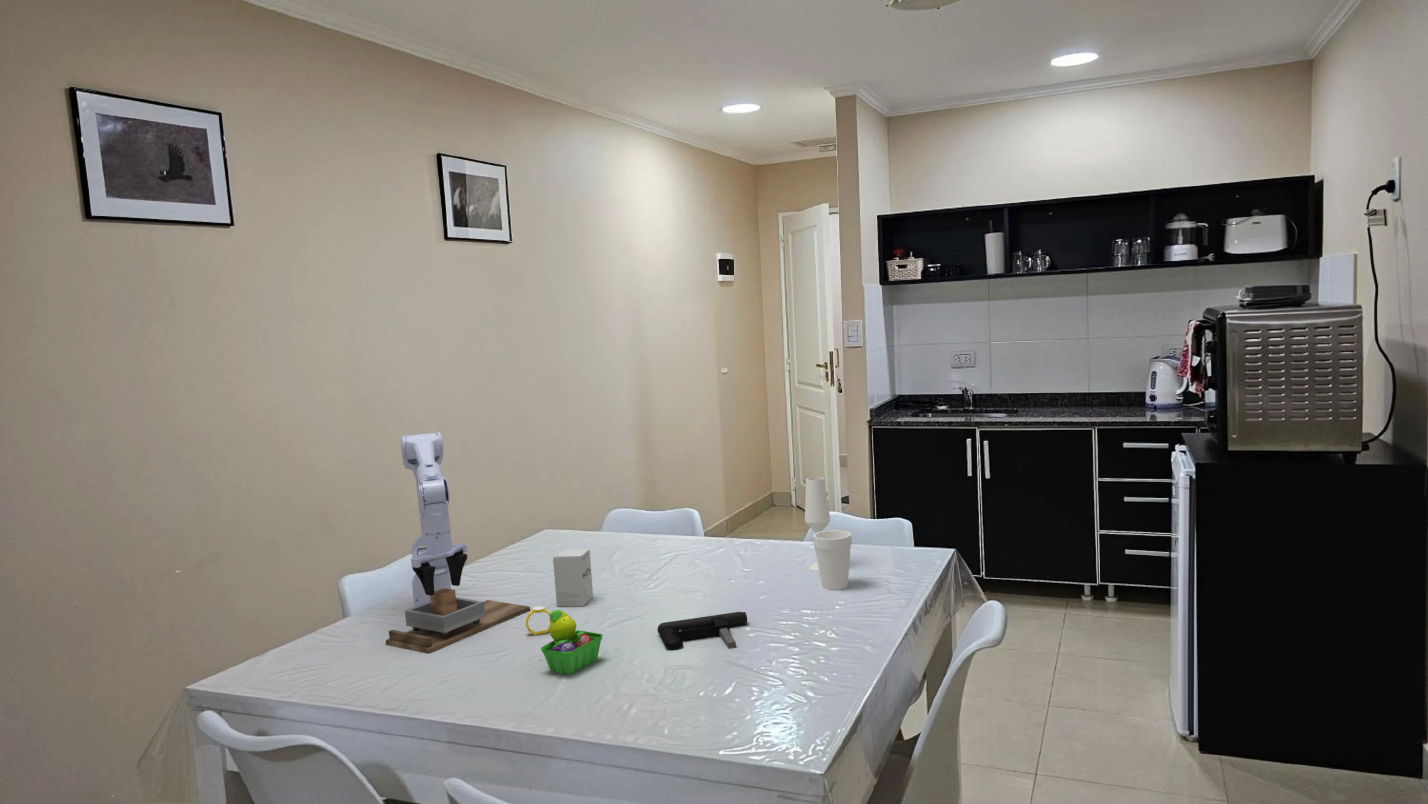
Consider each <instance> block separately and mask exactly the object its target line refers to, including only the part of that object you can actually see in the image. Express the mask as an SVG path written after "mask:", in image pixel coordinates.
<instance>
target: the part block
mask: <svg viewBox="0 0 1428 804" xmlns="http://www.w3.org/2000/svg"><path fill="white" fill-rule="evenodd" d="M456 594H457V593H456V589H452V588H451V589H446V588H442V589H439V590H437V591H434V595H432V596H430V601H431V612H432V614H437V615H443V616H445V615H447V614H450V613H452V612H455V611H457V604H456V597H457V596H456Z"/></svg>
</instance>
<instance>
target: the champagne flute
mask: <svg viewBox="0 0 1428 804" xmlns="http://www.w3.org/2000/svg"><path fill="white" fill-rule="evenodd" d="M826 489H827V488H826V481H825V478H824V477H823V476H813V477H807V478H806V479H805V497H804V498H805V501H804V507H805V508H804V522H805V524H806V525H807V526H808V527H809V528H810V529H811V530H812V531H813V532H815V533H817V532H822V531H824V529H826V527H827V526H828V524H829V523H830V521H831V515H830V509H829V502H828V495H827V490H826ZM807 569H808V570H809V571H814V572H819V567H818V562H817V560H816V561H815V562H812V563H811V564H810V565H809V566H808V567H807Z"/></svg>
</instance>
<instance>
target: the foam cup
mask: <svg viewBox="0 0 1428 804" xmlns="http://www.w3.org/2000/svg"><path fill="white" fill-rule="evenodd" d="M812 540H813V541H812V542H813V547H814V552H815V556H816V561H817V562H818V567H819V571H818V572H819V576H820V582H821V586H822V588H823V589H824V590H827V591H828V590H829V591H839V590H844V589H846V588H848V585H849V574H850V573H849V572H850V560H851V548H852V547H851V546H852V542H853V539H852V533H851V532H850V531H847V530H837V529H836V530H835V529H833V530H832V529H831V530H822V531H821V532H817V533H816V532H815V533H813V535H812Z"/></svg>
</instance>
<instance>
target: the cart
mask: <svg viewBox="0 0 1428 804" xmlns="http://www.w3.org/2000/svg"><path fill="white" fill-rule="evenodd" d="M456 604H457V611H455V612H452V613H450V614H447V615H445V616H443V615H437V614H432V612H431V601H430V602H428V603H425V604H422V605H419V606H417V607H414V608H412V607H411V608H409V609H406V610H404V615H405V626H407V627H412V630H414V631H419V630H420V628H421V629H426V630H432V631H437V632H442V635H443V636H444V637H448V636H449V635H450V631H451V630H454V629H456V628H458V627H461V626H463V625H466V624H468V623H471V622H473V623H474V624H479V622H480V618H483V617H485V607H484V601H481V600H474V599H470V598H469V599H468V598H463V597H457V596H456Z"/></svg>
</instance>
